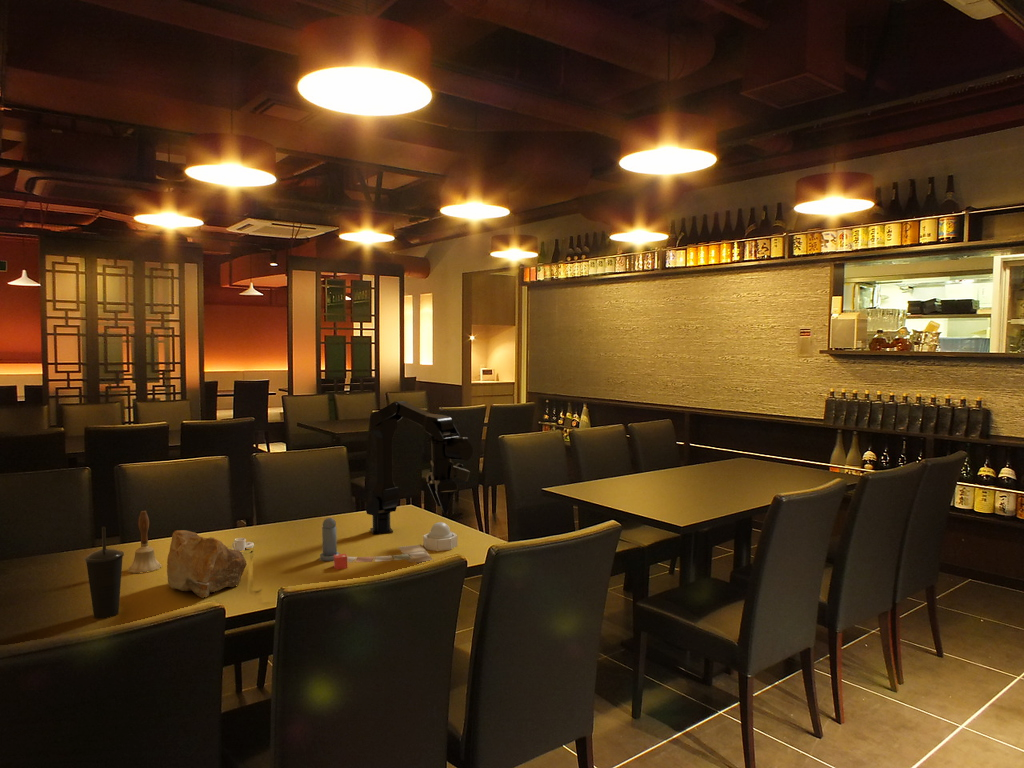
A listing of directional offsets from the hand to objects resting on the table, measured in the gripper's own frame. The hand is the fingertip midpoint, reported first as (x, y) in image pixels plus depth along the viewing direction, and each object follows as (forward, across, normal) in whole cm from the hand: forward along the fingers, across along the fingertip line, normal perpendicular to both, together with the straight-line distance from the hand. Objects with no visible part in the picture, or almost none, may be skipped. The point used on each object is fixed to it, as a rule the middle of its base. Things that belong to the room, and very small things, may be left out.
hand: (442, 509), depth 210 cm
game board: (+11, -9, +21) cm, 26 cm away
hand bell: (+11, +4, +82) cm, 83 cm away
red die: (+10, -15, +31) cm, 36 cm away
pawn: (+10, -6, +33) cm, 35 cm away
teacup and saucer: (+11, +13, +55) cm, 58 cm away
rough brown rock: (+11, -18, +63) cm, 66 cm away
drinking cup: (+11, -30, +83) cm, 89 cm away
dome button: (+10, 0, +1) cm, 10 cm away
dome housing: (+11, 0, +1) cm, 11 cm away
